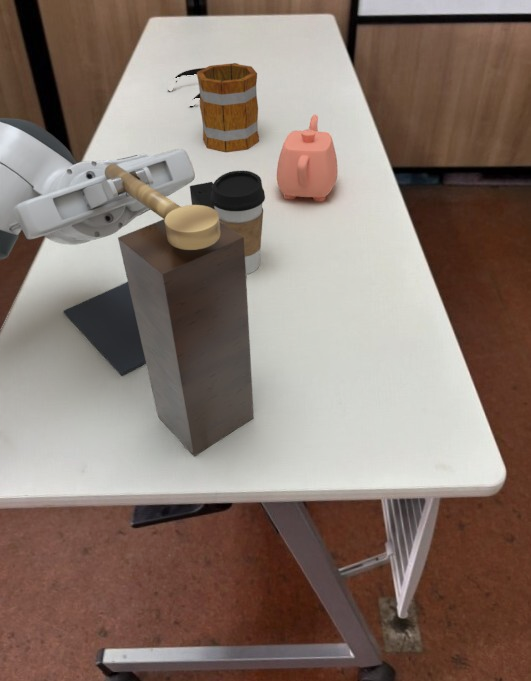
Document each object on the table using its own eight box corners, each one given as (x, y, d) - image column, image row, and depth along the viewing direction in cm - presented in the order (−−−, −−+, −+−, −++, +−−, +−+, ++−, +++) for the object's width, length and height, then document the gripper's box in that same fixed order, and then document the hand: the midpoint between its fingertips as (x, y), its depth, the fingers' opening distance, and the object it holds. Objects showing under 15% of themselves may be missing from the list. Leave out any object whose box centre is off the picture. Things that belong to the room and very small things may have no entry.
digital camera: (187, 220, 107) (182, 186, 103) (214, 215, 109) (211, 180, 104) (202, 248, 100) (198, 212, 95) (231, 242, 101) (229, 206, 97)
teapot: (331, 215, 108) (335, 154, 100) (269, 211, 109) (268, 150, 101) (340, 168, 122) (344, 111, 114) (285, 165, 124) (285, 109, 116)
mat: (63, 313, 87) (63, 310, 87) (132, 282, 93) (131, 279, 93) (121, 376, 77) (121, 373, 77) (195, 337, 83) (195, 334, 82)
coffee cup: (275, 257, 98) (273, 174, 88) (253, 284, 92) (249, 199, 82) (231, 246, 100) (225, 165, 90) (207, 272, 95) (198, 189, 85)
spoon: (90, 185, 59) (86, 168, 58) (130, 171, 62) (127, 155, 60) (186, 256, 49) (184, 238, 48) (231, 236, 51) (229, 218, 50)
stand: (157, 417, 71) (117, 237, 54) (216, 382, 76) (195, 206, 58) (194, 456, 67) (162, 274, 49) (254, 418, 71) (244, 237, 54)
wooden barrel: (255, 153, 129) (252, 83, 119) (196, 151, 131) (189, 82, 121) (266, 120, 144) (265, 55, 134) (213, 118, 145) (208, 55, 135)
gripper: (-8, 204, 63) (15, 182, 51) (153, 151, 72) (202, 123, 61) (19, 257, 64) (46, 249, 53) (172, 199, 74) (223, 181, 62)
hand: (131, 181), depth 57 cm, fingers closed on spoon, 2 cm apart
